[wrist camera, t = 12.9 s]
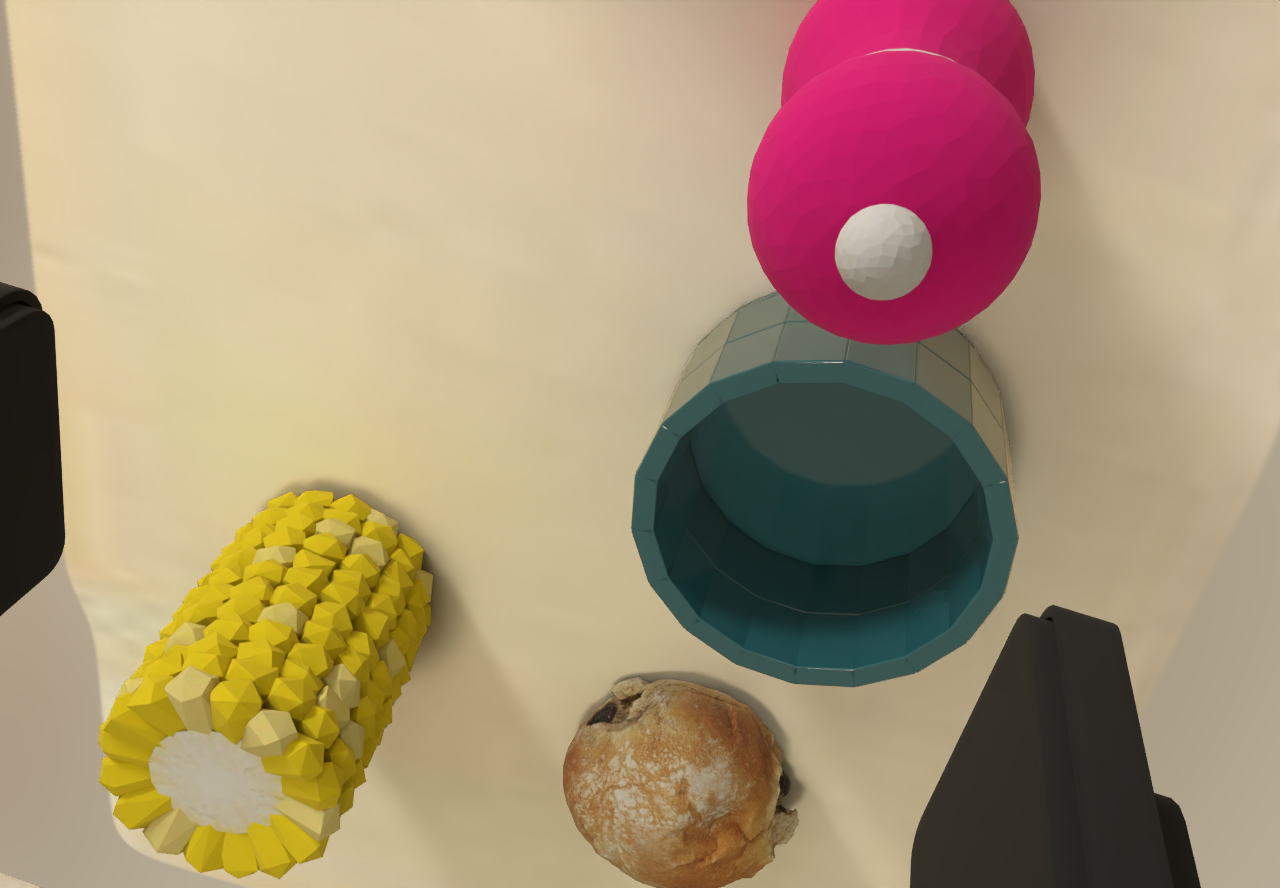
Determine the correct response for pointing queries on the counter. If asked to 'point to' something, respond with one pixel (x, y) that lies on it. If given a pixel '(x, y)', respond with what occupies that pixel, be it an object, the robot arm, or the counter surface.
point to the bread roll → (678, 785)
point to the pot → (828, 499)
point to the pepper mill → (898, 166)
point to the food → (270, 688)
